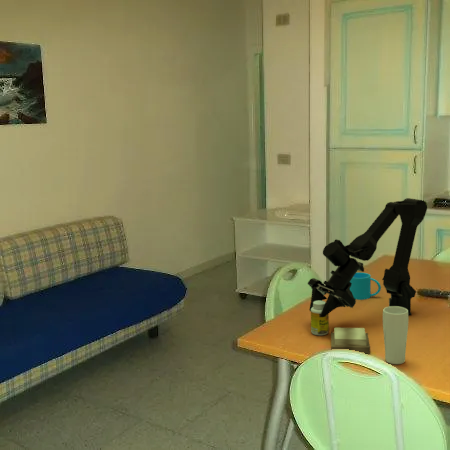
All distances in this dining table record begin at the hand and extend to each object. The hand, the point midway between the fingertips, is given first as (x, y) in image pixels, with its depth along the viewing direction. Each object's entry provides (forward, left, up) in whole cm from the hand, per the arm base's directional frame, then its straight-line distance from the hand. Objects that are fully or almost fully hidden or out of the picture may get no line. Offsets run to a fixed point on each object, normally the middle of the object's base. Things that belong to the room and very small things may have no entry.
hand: (315, 314), depth 184 cm
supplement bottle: (-1, -1, -7) cm, 7 cm away
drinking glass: (-22, +19, -7) cm, 30 cm away
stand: (-10, +9, -7) cm, 15 cm away
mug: (-17, -38, -7) cm, 42 cm away
